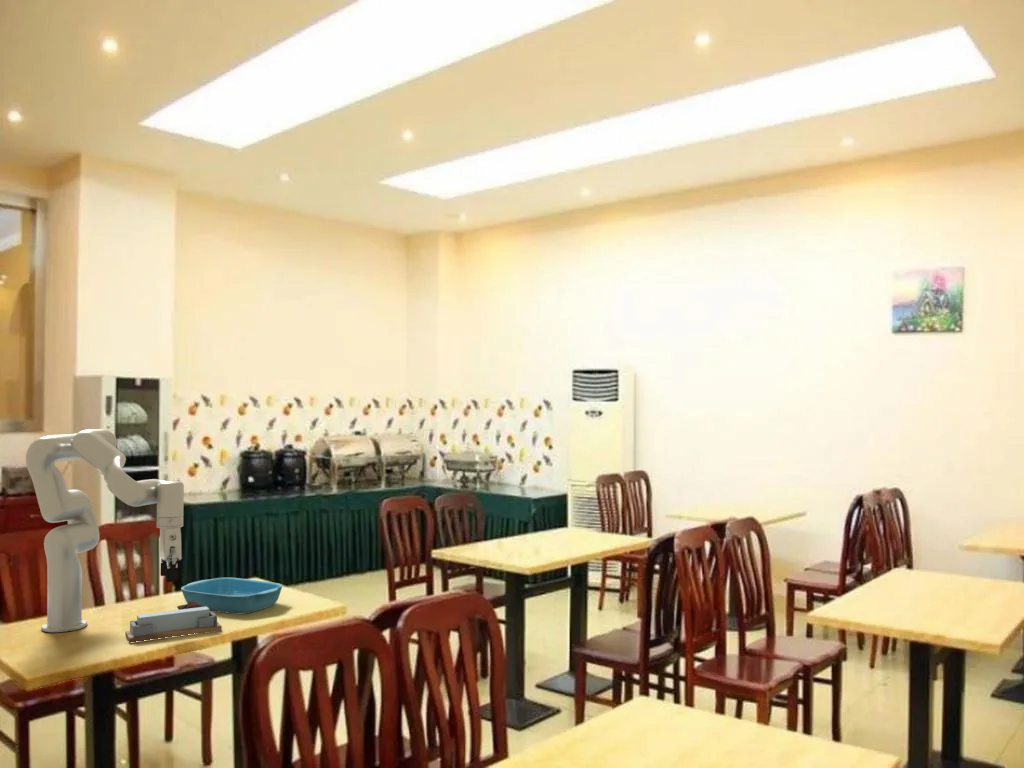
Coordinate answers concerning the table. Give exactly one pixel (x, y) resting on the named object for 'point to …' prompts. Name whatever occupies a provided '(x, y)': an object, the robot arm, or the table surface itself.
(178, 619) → the slat
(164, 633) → the board
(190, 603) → the icecream
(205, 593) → the casserole dish
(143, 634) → the end caps
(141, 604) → the table surface
